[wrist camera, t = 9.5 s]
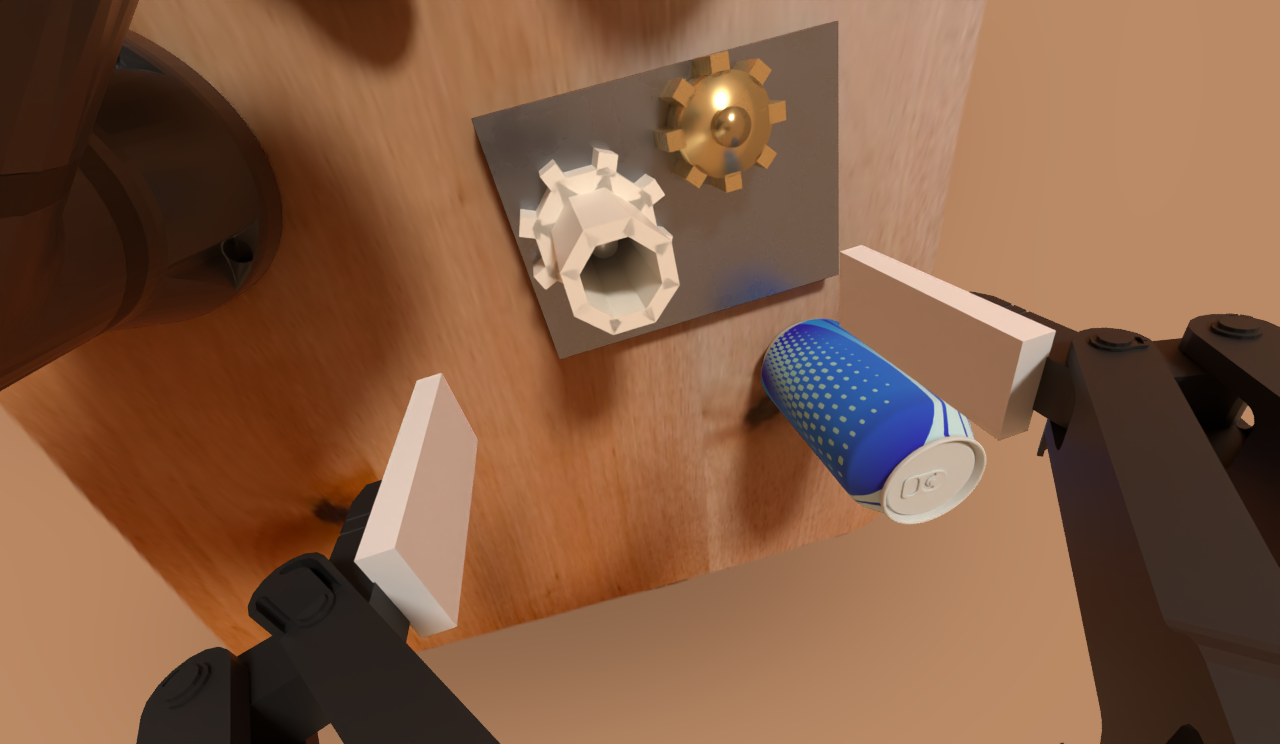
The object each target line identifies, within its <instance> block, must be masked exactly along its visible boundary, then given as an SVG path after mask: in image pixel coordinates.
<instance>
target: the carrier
mask: <svg viewBox="0 0 1280 744" xmlns="http://www.w3.org/2000/svg"><path fill="white" fill-rule="evenodd" d="M472 122H473V125H474V127H475V130H476V133H477V135H478V138H479V141H480V144H481V146H482V149H483V152H484V154H485V157H486V160H487V163H488V165H489V168H490V171H491V174H492V176H493V179H494V182H495V184H496V187H497V190H498V193H499V195H500V198H501V201H502V203H503V206H504V209H505V212H506V214H507V217H508V220H509V222H510V225H511V228H512V231H513V233H514V236H515V239H516V242H517V244H518V247H519V250H520V252H521V255H522V258H523V261H524V263H525V266H526V269H527V271H528V274H529V277H530V280H531V282H532V285H533V288H534V291H535V293H536V296H537V299H538V301H539V304H540V307H541V310H542V312H543V315H544V318H545V320H546V323H547V326H548V329H549V331H550V334H551V337H552V340H553V342H554V345H555V348H556V350H557V353H558V356H559V359H563V358H566V357H569V356H573V355H576V354H579V353H582V352H586V351H589V350H592V349H596V348H599V347H602V346H605V345H609V344H612V343H615V342H619V341H622V340H625V339H628V338H632V337H635V336H638V335H642V334H645V333H648V332H651V331H655V330H658V329H661V328H665V327H668V326H671V325H674V324H678V323H681V322H684V321H688V320H691V319H694V318H697V317H701V316H704V315H707V314H711V313H714V312H717V311H720V310H724V309H727V308H730V307H734V306H737V305H740V304H744V303H747V302H750V301H753V300H757V299H760V298H763V297H767V296H770V295H773V294H776V293H780V292H783V291H786V290H790V289H793V288H796V287H799V286H803V285H806V284H809V283H813V282H816V281H819V280H822V279H826V278H829V277H832V276H836V275H839V257H838V21H834V22H830V23H826V24H822V25H819V26H815V27H811V28H807V29H804V30H800V31H796V32H792V33H789V34H785V35H781V36H777V37H774V38H770V39H766V40H763V41H759V42H755V43H751V44H748V45H744V46H740V47H736V48H733V49H729V50H725V51H721V52H718V53H714V54H710V55H706V56H703V57H699V58H695V59H692V60H688V61H684V62H680V63H677V64H673V65H669V66H665V67H662V68H658V69H654V70H650V71H647V72H643V73H639V74H635V75H632V76H628V77H624V78H621V79H617V80H613V81H609V82H606V83H602V84H598V85H594V86H591V87H587V88H583V89H579V90H576V91H572V92H568V93H564V94H561V95H557V96H553V97H549V98H546V99H542V100H538V101H535V102H531V103H527V104H523V105H520V106H516V107H512V108H508V109H505V110H501V111H497V112H493V113H490V114H486V115H482V116H478V117H475V118H472ZM593 148H597V149H603V150H609V151H612V152H614V153H616V154H617V155H618V161H617V169H616V172H617V173H619V174H620V175H622V176H623V177H625V178H627V179H628V180H630V181H631V182H633V183H635V182H636V181H637V180H638V179H639V178H641V177H642V176H643V175H644V174H647V175H649V176H650V177H652V178H654V179H655V180H656V182H657V183H658V185H659V186H660V188H661V189H662V191H663V192H664V194H665V196H663V197H662V198H661V199H660V200H658V201H657V202H656V203H655V204H653V210H654V215H655V220H656V224H657V226H660V227H664V228H665V229H666V230H667V231H668V232H669V233H670V234H671V235H672V236H673V238H672V247H673V252H674V257H675V263H676V268H677V273H678V278H679V284H680V285H679V287H678V289H677V290H676V292H675V293H674V295H673V296H672V298H671V299H670V301H669V303H668V304H667V306H666V307H665V309H664V310H663V312H662V313H661V315H660V317H659V318H658V320H657V321H656V322H655V323H652V324H648V325H645V326H642V327H638V328H635V329H632V330H628V331H625V332H622V333H619V334H615V335H612V334H610V333H608V332H606V331H604V330H602V329H599V328H597V327H595V326H593V325H591V324H589V323H587V322H585V321H583V320H581V319H578V318H576V317H574V314H573V311H572V308H571V305H570V302H569V299H568V296H567V293H566V290H565V287H564V284H563V283H561V282H559V281H556V282H555V283H554V284H553V285H551V286H550V287H549V288H548V289H546V290H545V289H544V288H543V286H542V285H541V284H540V283H539V282H538V281H537V280H536V279H535V278H534V274H533V264H534V263H536V262H537V261H538V260H539V259H540V258H542V256H541V253H540V250H539V247H538V244H537V241H536V239H534V238H525V237H519V227H520V209H525V210H533V211H536V209H537V207H538V205H539V203H540V201H541V199H542V197H543V195H544V193H545V191H546V189H547V187H548V186H547V185H546V184H545V183H544V181H543V180H542V179H541V178H540V175H539V170H540V169H542V168H543V167H544V166H545V165H546V164H548V163H549V162H550V161H551V160H552V159H553V160H554V161H555V162H556V164H557V165H558V166H559V168H560V169H561V170H562V172H567V171H570V170H574V169H578V168H581V167H585V166H588V165H591V164H592V155H593ZM617 248H618V240H615V241H612V242H608V243H605V244H602V245H598V246H595V248H594V250H593V252H592V254H591V255H590V256H594V255H595V256H596V257H598V258H602V259H605V258H609V257H611V256H612V255H614V254H615V252H616V250H617Z"/></svg>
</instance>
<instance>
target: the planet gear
mask: <svg viewBox="0 0 1280 744" xmlns="http://www.w3.org/2000/svg"><path fill="white" fill-rule="evenodd" d="M617 161H618V155H617V154H616V153H614V152H612V151H609V150H603V149H597V148H593V155H592V164H591V165H588V166H585V167H581V168H578V169H574V170H570V171H567V172H562V170H561V169H560V168H559V166H558V165H557V164H556V162H555V161H554V160H553V159H552V160H551V161H550V162H549V163H548V164H546V165H545V166H544V167H543V168H542V169H540V170H539V175H540V178H541V179H542V180H543V181H544V183H545V184H546V185H547V186H548V187H547V189H546V191H545V193H544V195H543V197H542V199H541V201H540V203H539V205H538V207H537V209H536V211H533V210H525V209H520V227H519V237H525V238H534V239H536V241H537V244H538V247H539V250H540V253H541V256H542V258H540V259H539V260H538V261H537V262H536V263H534V264H533V274H534V278H535V279H536V280H537V281H538V282H539V283H540V284H541V285H542V286H543V288H544V289H545V290H546V289H548V288H549V287H550V286H551V285H553V284H554V283H555V282H556V281H559V282H561V283H563V284H564V287H565V290H566V293H567V296H568V299H569V302H570V305H571V308H572V311H573V314H574V317H576V318H578V319H581V320H583V321H585V322H587V323H589V324H591V325H593V326H595V327H597V328H599V329H602V330H604V331H606V332H608V333H610V334H612V335H615V334H619V333H622V332H625V331H628V330H632V329H635V328H638V327H642V326H645V325H648V324H652V323H655V322H656V321H657V320H658V318H659V317H660V315H661V313H662V312H663V310H664V309H665V307H666V306H667V304H668V303H669V301H670V299H671V298H672V296H673V295H674V293H675V292H676V290H677V289H678V287H679V285H680V284H679V278H678V273H677V268H676V263H675V257H674V252H673V247H672V238H673V236H672V235H671V234H670V233H669V232H668V231H667V230H666V229H665V228H664V227H660V226H657V224H656V220H655V215H654V210H653V204H655V203H656V202H657V201H658V200H660V199H661V198H662V197H663V196H665V194H664V192H663V191H662V189H661V188H660V186H659V185H658V183H657V182H656V180H655V179H654V178H652V177H650V176H649V175H647V174H644V175H643V176H642V177H641V178H639V179H638V180H637V181H636V182H635V183H633V182H631V181H630V180H628V179H627V178H625V177H623V176H622V175H620V174H619V173H617V172H616V169H617ZM615 240H618V248H617V250H616V252H615V254H614V255H612V256H611V257H609V258H605V259H602V258H598V257H596V256H595V255H594V256H590V255H591V254H592V252H593V250H594V248H595V246H598V245H602V244H605V243H608V242H612V241H615Z"/></svg>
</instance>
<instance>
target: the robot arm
mask: <svg viewBox="0 0 1280 744" xmlns="http://www.w3.org/2000/svg"><path fill="white" fill-rule="evenodd" d="M138 1H139V0H0V391H2V390H3V389H5V388H7V387H9V386H10V385H12V384H14V383H16V382H17V381H19V380H21V379H23V378H24V377H26V376H28V375H30V374H31V373H33V372H35V371H37V370H38V369H40V368H42V367H44V366H45V365H47V364H49V363H51V362H52V361H54V360H56V359H58V358H59V357H61V356H63V355H65V354H66V353H68V352H70V351H72V350H73V349H75V348H77V347H79V346H80V345H82V344H84V343H85V342H87V341H89V340H90V339H92V338H94V337H96V336H97V335H99V334H101V333H103V332H106V331H113V330H120V329H128V328H135V327H142V326H150V325H157V324H164V323H171V322H177V321H183V320H187V319H191V318H194V317H197V316H200V315H203V314H206V313H209V312H211V311H213V310H216V309H218V308H220V307H221V306H223V305H225V304H227V303H228V302H230V301H231V300H233V299H234V298H236V297H237V296H239V295H240V294H241V293H243V292H244V291H246V290H247V289H248V288H250V287H251V286H252V285H254V284H255V283H256V282H257V281H258V280H259V279H260V278H261V276H262V275H263V274H264V273H265V272H266V270H267V269H268V267H269V266H270V264H271V262H272V260H273V259H274V256H275V254H276V251H277V248H278V245H279V241H280V237H281V229H282V208H281V201H280V195H279V191H278V187H277V183H276V180H275V177H274V174H273V171H272V169H271V166H270V164H269V162H268V160H267V158H266V156H265V153H264V152H263V150H262V148H261V146H260V144H259V143H258V141H257V139H256V138H255V136H254V135H253V133H252V132H251V130H250V129H249V127H248V126H247V125H246V123H245V122H244V120H243V119H242V118H241V117H240V115H239V114H238V113H237V112H236V110H235V109H234V108H233V107H232V106H231V105H230V104H229V102H228V101H227V100H226V99H225V98H224V97H223V96H222V95H221V94H220V93H219V92H218V91H217V90H216V89H215V88H214V87H213V86H212V85H211V84H210V83H208V82H207V81H206V80H205V79H204V78H203V77H202V76H201V75H199V74H198V73H197V72H196V71H194V70H193V69H192V68H191V67H189V66H188V65H187V64H185V63H184V62H183V61H181V60H180V59H179V58H177V57H176V56H174V55H173V54H171V53H170V52H168V51H167V50H165V49H164V48H162V47H160V46H159V45H157V44H155V43H154V42H152V41H150V40H148V39H147V38H145V37H143V36H141V35H139V34H137V33H135V32H133V31H131V30H129V26H130V23H131V20H132V18H133V15H134V12H135V9H136V7H137V4H138ZM840 326H841V327H842V328H843V329H845V330H846V331H848V332H849V333H850V334H852V335H853V336H854V337H856V338H857V339H859V340H860V341H861V342H863V343H864V344H866V345H867V346H868V347H870V348H871V349H872V350H874V351H875V352H877V353H878V354H879V355H881V356H882V357H884V358H885V359H886V360H888V361H889V362H890V363H892V364H893V365H895V366H896V367H897V368H899V369H900V370H902V371H903V372H904V373H906V374H907V375H908V376H910V377H911V378H913V379H914V380H915V381H917V382H918V383H920V384H921V385H922V386H924V387H925V388H926V389H928V390H929V391H931V392H932V393H933V394H935V395H936V396H938V397H939V398H940V399H942V400H943V401H944V402H946V403H947V404H949V405H950V406H951V407H953V408H954V409H956V410H957V411H958V412H960V413H961V414H962V415H964V416H965V417H967V418H968V419H969V420H971V421H972V422H974V423H975V424H976V425H978V426H979V427H981V428H982V429H983V430H985V431H986V432H987V433H989V434H991V435H992V436H993V437H994V438H996V439H997V440H1002V439H1005V438H1008V437H1011V436H1014V435H1016V434H1019V433H1022V432H1025V431H1027V430H1028V427H1029V424H1030V420H1031V417H1032V413H1033V410H1035V411H1036V412H1038V413H1040V414H1041V415H1043V416H1044V417H1046V418H1048V419H1047V423H1046V425H1045V429H1044V432H1043V435H1042V438H1041V442H1040V445H1039V448H1038V453H1037V456H1043V454H1044V451H1045V450H1046V449H1048V453H1049V458H1050V463H1051V468H1052V473H1053V477H1054V482H1055V487H1056V492H1057V497H1058V502H1059V507H1060V512H1061V517H1062V522H1063V527H1064V532H1065V537H1066V542H1067V547H1068V552H1069V557H1070V562H1071V567H1072V572H1073V577H1074V582H1075V586H1076V591H1077V596H1078V601H1079V606H1080V611H1081V616H1082V621H1083V626H1084V631H1085V636H1086V641H1087V646H1088V651H1089V656H1090V661H1091V666H1092V671H1093V676H1094V681H1095V685H1096V691H1097V696H1098V700H1099V705H1100V710H1101V718H1102V734H1101V742H1100V744H1280V327H1278V326H1276V325H1274V324H1272V323H1269V322H1267V321H1264V320H1260V319H1256V318H1253V317H1251V316H1246V315H1240V316H1239V315H1238V314H1211V315H1204V316H1199V317H1196V318H1194V319H1192V320H1190V322H1189V324H1188V327H1187V328H1186V331H1185V333H1184V335H1183V337H1182V338H1180V339H1171V340H1160V341H1151V340H1150V339H1148V338H1146V337H1144V336H1142V335H1140V334H1138V333H1134V332H1130V331H1126V330H1122V329H1113V328H1091V329H1087V330H1083V331H1080V332H1076V331H1074V330H1072V329H1069V328H1067V327H1065V326H1062V325H1060V324H1057V323H1055V322H1053V321H1051V320H1048V319H1046V318H1044V317H1041V316H1039V315H1036V314H1034V313H1032V312H1026V310H1025V309H1022V308H1020V307H1018V306H1015V305H1014V306H1012V305H1011V303H1008V302H1006V301H1004V300H1001V299H999V298H997V297H994V296H991V295H986V294H981V293H976V292H967V291H965V290H963V289H960V288H958V287H955V286H954V285H951V284H949V283H947V282H945V281H942V280H940V279H938V278H935V277H933V276H931V275H929V274H926V273H924V272H922V271H920V270H917V269H915V268H913V267H911V266H908V265H906V264H904V263H901V262H899V261H897V260H895V259H892V258H890V257H888V256H886V255H883V254H881V253H879V252H877V251H874V250H872V249H870V248H867V247H865V246H863V245H860V246H857V247H853V248H850V249H847V250H844V251H840ZM1247 406H1249V407H1250V408H1251V410H1252V412H1253V415H1254V425H1253V426H1250V425H1248V424H1247V423H1246V422H1245V421H1244V420H1243V419H1241V416H1242V414H1243V412H1244V411H1245V409H1246V407H1247ZM477 444H478V439H477V437H476V436H475V434H474V432H473V430H472V428H471V426H470V424H469V423H468V421H467V419H466V417H465V415H464V413H463V411H462V410H461V408H460V406H459V404H458V402H457V400H456V398H455V396H454V395H453V393H452V391H451V389H450V387H449V385H448V383H447V382H446V380H445V378H444V376H443V374H442V373H440V374H436V375H433V376H430V377H427V378H423V379H420V380H417V382H416V385H415V388H414V391H413V393H412V396H411V399H410V402H409V405H408V408H407V411H406V413H405V416H404V419H403V422H402V425H401V428H400V431H399V434H398V436H397V439H396V442H395V445H394V448H393V451H392V454H391V457H390V459H389V462H388V465H387V468H386V471H385V474H384V477H383V479H382V480H380V481H377V482H374V483H371V484H367V485H366V486H365V487H364V489H363V490H362V491H361V492H360V494H359V495H358V496H357V497H356V498H355V500H354V501H353V502H352V505H351V507H350V510H349V512H348V515H347V517H346V522H345V523H344V525H343V527H342V530H341V532H340V534H341V536H340V537H338V539H337V542H336V544H335V547H334V549H333V552H332V554H331V557H330V559H329V560H328V559H327V558H326V557H325V556H324V555H322V554H319V553H317V552H316V553H306V554H303V555H301V556H298V557H296V558H293V559H291V560H289V561H288V562H286V563H285V564H283V565H281V566H280V567H278V568H277V569H276V570H274V571H273V572H272V573H271V574H270V575H269V576H268V577H267V578H266V579H264V580H263V581H262V583H261V584H260V585H259V587H258V588H257V589H256V591H255V592H254V593H253V595H252V597H251V600H250V602H249V604H248V613H249V616H250V617H251V618H252V619H253V620H254V621H256V622H257V623H258V624H259V625H260V626H262V627H263V628H264V629H265V630H266V631H268V632H269V633H270V634H271V635H272V636H271V637H270V638H268V639H266V640H264V641H263V642H261V643H259V644H258V645H256V646H254V647H253V648H251V649H249V650H247V651H246V652H244V653H242V654H241V655H239V656H235V655H234V654H233V653H231V652H230V651H229V650H227V649H224V648H221V647H216V648H211V649H206V650H204V651H202V652H200V653H198V654H196V655H194V656H192V657H190V658H189V659H188V660H186V661H185V662H184V663H182V664H181V665H180V666H178V667H177V668H176V669H175V670H173V671H172V672H171V673H170V674H169V675H168V676H167V677H166V678H165V679H164V680H163V681H162V682H161V683H160V684H159V685H158V687H157V688H156V689H155V691H154V692H153V694H152V695H151V697H150V698H149V699H148V701H147V702H146V705H145V707H144V710H143V713H142V715H141V719H140V725H139V731H138V737H137V743H136V744H319V739H318V733H317V732H318V731H319V730H321V729H322V728H324V727H325V726H327V725H328V724H330V723H331V724H332V725H333V727H334V729H335V730H336V732H337V733H338V735H339V737H340V738H341V740H342V741H343V743H344V744H500V743H499V742H498V741H497V740H496V739H495V738H494V737H493V736H492V734H491V733H490V732H489V731H488V730H487V729H486V728H485V727H484V726H483V725H482V724H481V723H480V722H479V721H478V719H477V718H476V717H475V716H474V715H473V714H472V713H471V712H470V711H469V710H468V709H467V708H466V707H465V706H464V704H463V703H462V702H461V701H460V700H459V699H458V698H457V697H456V696H455V695H454V694H453V693H452V692H451V691H450V690H449V689H448V687H447V686H446V685H445V684H444V683H443V682H442V681H441V680H440V679H439V678H438V677H437V676H436V675H435V674H434V673H433V672H432V670H431V669H430V668H429V667H428V666H427V665H426V664H425V663H424V662H423V661H422V660H421V659H420V657H419V656H418V655H417V654H416V653H415V652H414V651H413V650H412V649H411V648H410V647H409V646H408V645H407V644H406V640H407V635H408V630H409V625H411V626H412V628H413V629H414V630H415V631H416V632H417V633H418V634H419V635H420V637H421V638H425V637H428V636H431V635H434V634H437V633H440V632H443V631H445V630H448V629H451V628H454V627H457V620H458V611H459V603H460V594H461V585H462V576H463V567H464V558H465V550H466V541H467V532H468V523H469V514H470V505H471V497H472V488H473V479H474V470H475V461H476V452H477ZM1061 744H1064V743H1061Z"/></svg>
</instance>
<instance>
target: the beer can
mask: <svg viewBox="0 0 1280 744" xmlns="http://www.w3.org/2000/svg"><path fill="white" fill-rule="evenodd" d="M761 381H762V385H763V388H764V390H765V392H766V394H767V395H768V396H769V398H770V399H771V400H772V401H773V403H774V404H775V405H776V406H777V407H778V409H779V410H780V411H781V412H782V413H783V415H784V416H785V417H786V418H787V420H788V421H789V422H790V423H791V424H792V426H793V427H794V428H795V429H796V431H797V432H798V433H799V434H800V435H801V437H802V438H803V439H804V440H805V442H806V443H807V444H808V445H809V446H810V448H811V449H812V450H813V451H814V453H815V454H816V455H817V456H818V457H819V459H820V460H821V461H822V462H823V464H824V465H825V466H826V467H827V468H828V470H829V471H830V472H831V473H832V474H833V476H834V477H835V478H836V479H837V481H838V482H839V483H840V484H841V485H842V487H843V488H844V489H845V490H846V492H847V493H848V494H849V495H850V496H851V497H852V498H853V499H854V500H855V501H856V502H857V503H859V504H861V505H862V506H864V507H867V508H870V509H873V510H876V511H879V512H882V513H885V515H886V516H887V517H888V518H889V519H891V520H892V521H894V522H897V523H900V524H918V523H923V522H927V521H930V520H932V519H935V518H937V517H939V516H941V515H943V514H945V513H947V512H948V511H950V510H952V509H953V508H955V507H956V506H957V505H958V504H960V503H961V502H962V501H963V500H964V499H965V498H966V497H967V496H968V495H969V494H970V493H971V492H972V491H973V490H974V488H975V487H976V486H977V484H978V483H979V481H980V479H981V478H982V475H983V473H984V470H985V467H986V453H985V451H984V449H983V447H982V446H981V445H980V444H979V443H978V442H977V441H975V439H974V436H973V432H972V429H971V425H970V422H969V420H968V418H967V417H965V416H964V415H962V414H961V413H960V412H958V411H957V410H956V409H954V408H953V407H951V406H950V405H949V404H947V403H946V402H944V401H943V400H942V399H940V398H939V397H938V396H936V395H935V394H933V393H932V392H931V391H929V390H928V389H926V388H925V387H924V386H922V385H921V384H920V383H918V382H917V381H915V380H914V379H913V378H911V377H910V376H908V375H907V374H906V373H904V372H903V371H902V370H900V369H899V368H897V367H896V366H895V365H893V364H892V363H890V362H889V361H888V360H886V359H885V358H884V357H882V356H881V355H879V354H878V353H877V352H875V351H874V350H872V349H871V348H870V347H868V346H867V345H866V344H864V343H863V342H861V341H860V340H859V339H857V338H856V337H854V336H853V335H852V334H850V333H849V332H848V331H846V330H845V329H843V328H842V327H841V326H840V323H839V322H837V321H834V320H831V319H824V318H818V319H811V320H807V321H803V322H799V323H796V324H794V325H792V326H790V327H788V328H786V329H785V330H783V331H782V332H781V333H780V334H779V335H777V336H776V338H775V339H774V340H773V341H772V342H771V344H770V345H769V347H768V349H767V351H766V353H765V356H764V360H763V364H762V369H761Z"/></svg>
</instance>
